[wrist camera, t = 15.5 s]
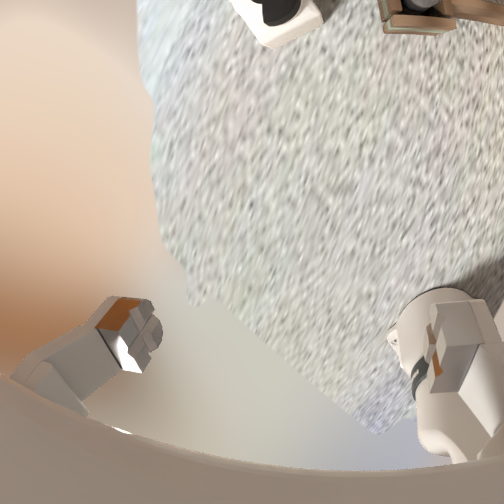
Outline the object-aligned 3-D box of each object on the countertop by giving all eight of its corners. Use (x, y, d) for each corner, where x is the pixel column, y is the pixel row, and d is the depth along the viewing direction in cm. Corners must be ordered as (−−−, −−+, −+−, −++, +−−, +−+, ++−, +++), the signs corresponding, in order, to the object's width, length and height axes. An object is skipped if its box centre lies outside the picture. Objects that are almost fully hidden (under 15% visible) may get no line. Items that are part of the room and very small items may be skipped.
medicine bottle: (293, -20, 28) (274, -53, 18) (325, 24, 30) (319, 3, 20) (244, 7, 31) (208, -14, 21) (274, 50, 33) (249, 41, 23)
